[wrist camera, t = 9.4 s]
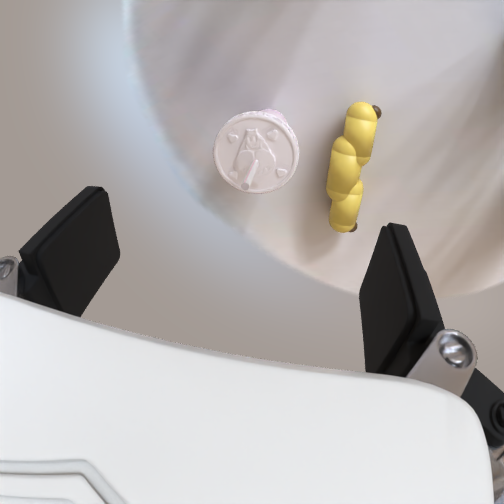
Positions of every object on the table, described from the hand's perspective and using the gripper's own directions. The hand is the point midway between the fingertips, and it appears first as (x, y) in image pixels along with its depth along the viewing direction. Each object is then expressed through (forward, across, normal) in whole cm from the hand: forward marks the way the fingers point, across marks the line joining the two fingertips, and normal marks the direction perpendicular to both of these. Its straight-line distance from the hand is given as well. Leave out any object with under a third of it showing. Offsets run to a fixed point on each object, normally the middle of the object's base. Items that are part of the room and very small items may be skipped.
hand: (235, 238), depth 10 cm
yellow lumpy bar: (+23, -7, +5) cm, 25 cm away
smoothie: (+23, +1, +2) cm, 24 cm away
